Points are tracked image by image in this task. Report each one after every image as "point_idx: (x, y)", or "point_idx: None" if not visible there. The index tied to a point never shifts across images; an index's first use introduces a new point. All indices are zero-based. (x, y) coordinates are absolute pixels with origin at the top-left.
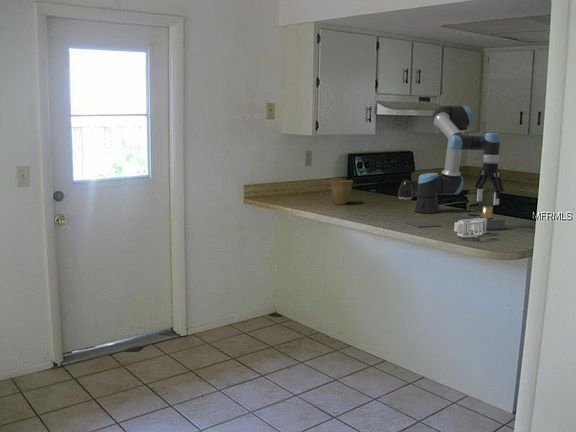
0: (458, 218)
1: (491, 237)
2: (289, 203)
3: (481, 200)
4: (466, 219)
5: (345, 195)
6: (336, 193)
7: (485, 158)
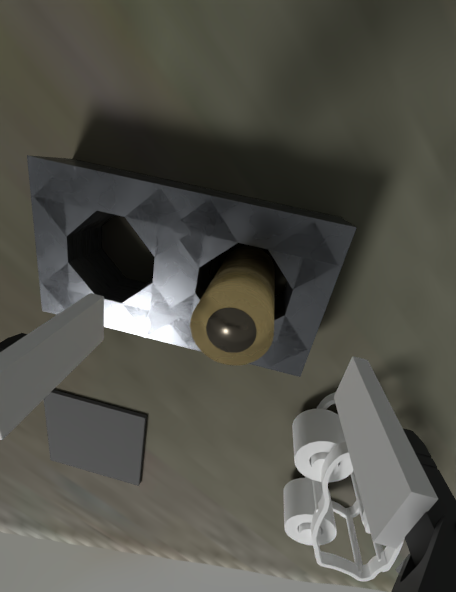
0: None
1: (431, 454)
2: None
3: (100, 304)
4: (318, 527)
5: None
6: None
7: None
